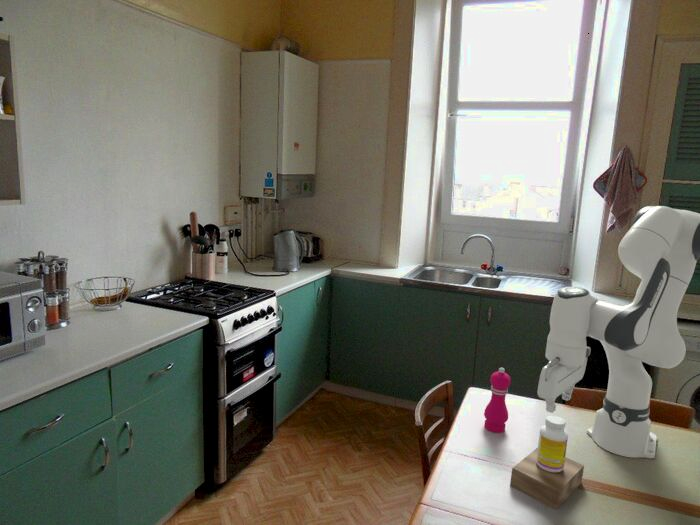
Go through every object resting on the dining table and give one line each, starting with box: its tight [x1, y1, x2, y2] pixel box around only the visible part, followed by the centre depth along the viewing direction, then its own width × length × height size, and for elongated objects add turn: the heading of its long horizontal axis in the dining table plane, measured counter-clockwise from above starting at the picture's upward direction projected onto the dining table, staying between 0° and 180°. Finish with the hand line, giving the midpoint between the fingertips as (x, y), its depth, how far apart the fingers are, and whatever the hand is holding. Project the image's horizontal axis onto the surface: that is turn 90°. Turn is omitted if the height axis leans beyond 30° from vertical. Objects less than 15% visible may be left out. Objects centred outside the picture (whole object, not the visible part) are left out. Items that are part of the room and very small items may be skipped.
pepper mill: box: [483, 367, 512, 434], centre depth 156 cm, size 7×7×20 cm
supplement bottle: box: [536, 415, 569, 473], centre depth 129 cm, size 7×7×13 cm
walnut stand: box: [509, 447, 585, 510], centre depth 130 cm, size 16×12×5 cm
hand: (558, 405), depth 126 cm, fingers open, 8 cm apart
